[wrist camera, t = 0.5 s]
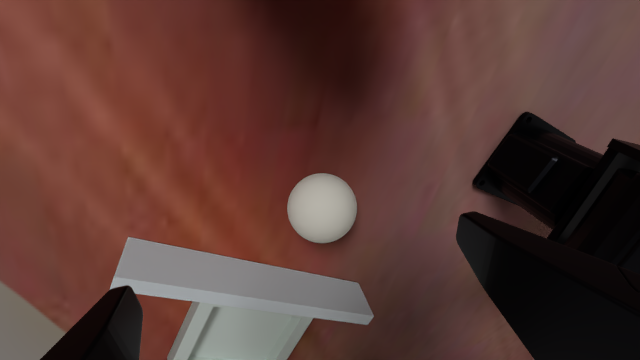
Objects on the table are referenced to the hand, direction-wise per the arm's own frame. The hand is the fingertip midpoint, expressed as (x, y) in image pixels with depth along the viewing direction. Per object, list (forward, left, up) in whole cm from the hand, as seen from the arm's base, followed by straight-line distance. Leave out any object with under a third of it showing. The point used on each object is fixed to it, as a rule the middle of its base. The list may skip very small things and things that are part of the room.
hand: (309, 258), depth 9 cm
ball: (-6, +4, -10) cm, 12 cm away
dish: (-6, +17, -13) cm, 22 cm away
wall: (-5, +11, -13) cm, 17 cm away
